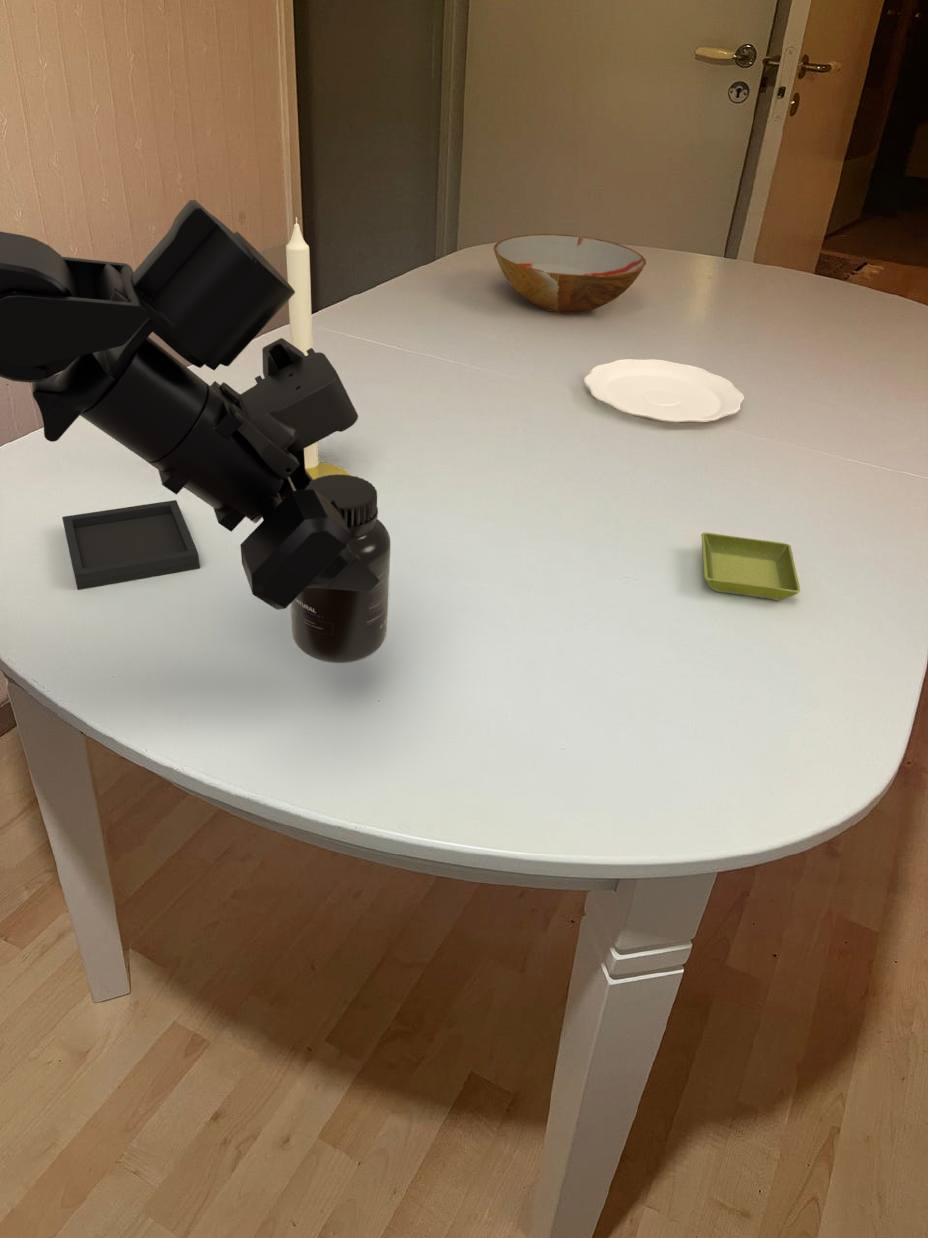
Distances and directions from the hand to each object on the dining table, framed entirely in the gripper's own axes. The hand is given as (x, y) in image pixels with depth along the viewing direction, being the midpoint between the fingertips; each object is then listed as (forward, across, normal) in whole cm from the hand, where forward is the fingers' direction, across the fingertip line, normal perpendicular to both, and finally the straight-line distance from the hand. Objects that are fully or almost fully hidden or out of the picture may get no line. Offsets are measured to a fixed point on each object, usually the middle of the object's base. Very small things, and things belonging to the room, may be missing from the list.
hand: (359, 557), depth 63 cm
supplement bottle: (+4, 0, +6) cm, 7 cm away
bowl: (+52, +88, -34) cm, 108 cm away
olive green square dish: (+38, +6, -19) cm, 43 cm away
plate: (+48, +47, -30) cm, 74 cm away
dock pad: (-1, +27, +20) cm, 34 cm away
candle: (+13, +36, +6) cm, 38 cm away
